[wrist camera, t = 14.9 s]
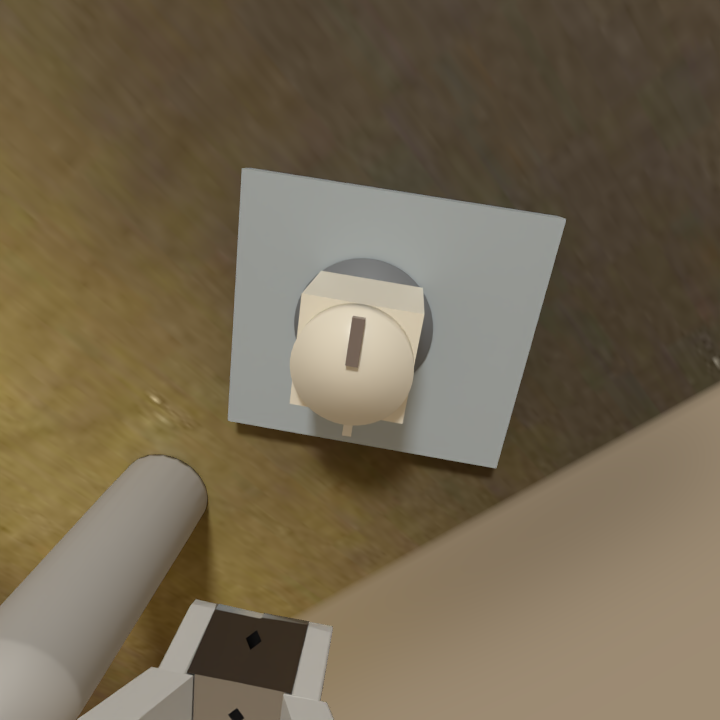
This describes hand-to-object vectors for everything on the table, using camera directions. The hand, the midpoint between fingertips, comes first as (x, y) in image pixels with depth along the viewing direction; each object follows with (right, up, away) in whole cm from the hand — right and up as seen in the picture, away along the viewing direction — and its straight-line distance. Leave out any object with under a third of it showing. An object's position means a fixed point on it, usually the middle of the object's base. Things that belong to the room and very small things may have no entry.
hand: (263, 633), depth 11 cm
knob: (+2, +8, +20) cm, 22 cm away
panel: (+3, +8, +22) cm, 24 cm away
